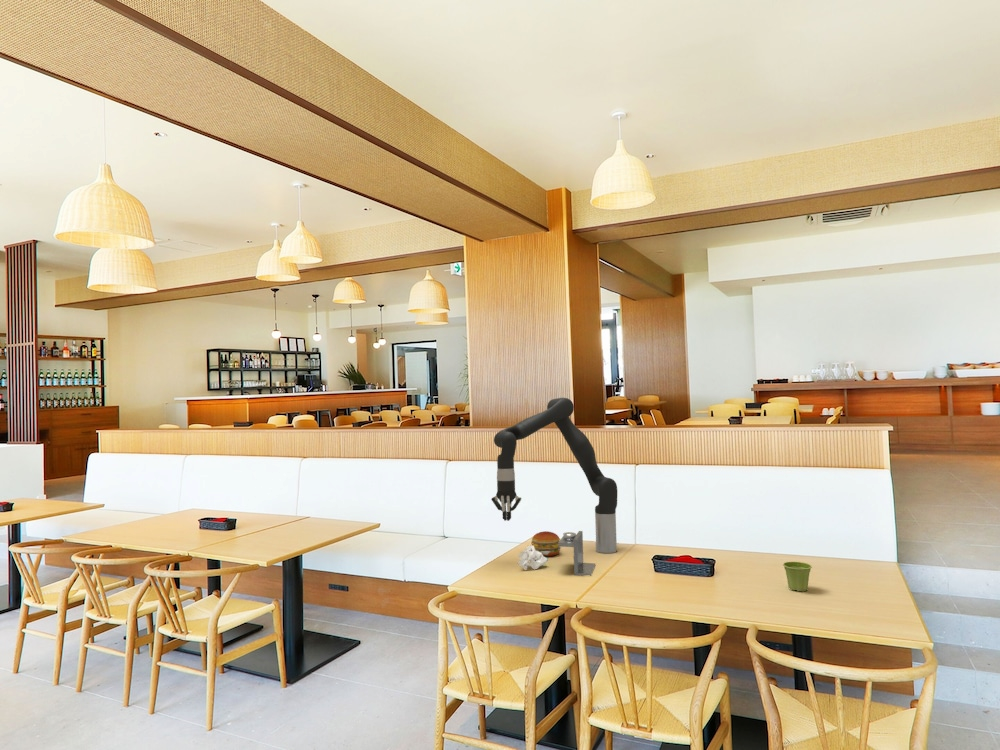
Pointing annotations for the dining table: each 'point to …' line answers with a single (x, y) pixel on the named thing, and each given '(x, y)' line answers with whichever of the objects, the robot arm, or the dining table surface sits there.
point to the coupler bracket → (577, 552)
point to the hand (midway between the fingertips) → (506, 520)
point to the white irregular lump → (531, 558)
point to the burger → (546, 543)
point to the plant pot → (797, 575)
